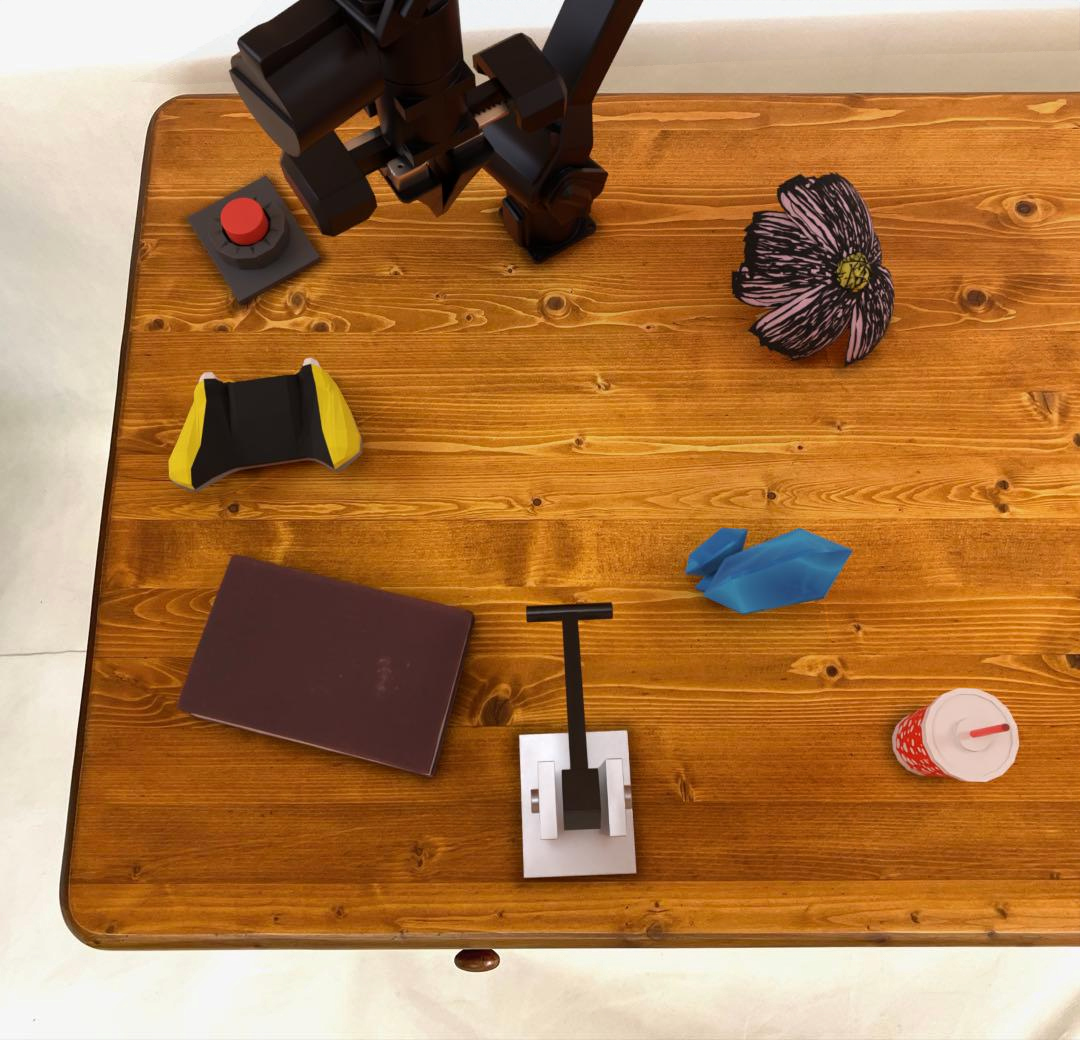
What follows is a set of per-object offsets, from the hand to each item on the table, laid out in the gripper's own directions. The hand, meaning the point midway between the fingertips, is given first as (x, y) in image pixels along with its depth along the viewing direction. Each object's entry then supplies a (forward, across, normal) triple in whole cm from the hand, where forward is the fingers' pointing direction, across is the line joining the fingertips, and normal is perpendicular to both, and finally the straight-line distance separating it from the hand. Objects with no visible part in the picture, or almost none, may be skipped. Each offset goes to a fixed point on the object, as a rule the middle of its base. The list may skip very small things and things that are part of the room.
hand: (437, 210), depth 72 cm
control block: (+13, +11, -15) cm, 23 cm away
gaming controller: (+14, +19, +3) cm, 23 cm away
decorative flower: (+12, -25, +17) cm, 33 cm away
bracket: (+14, +14, +40) cm, 45 cm away
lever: (+3, +11, +36) cm, 38 cm away
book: (+14, +24, +22) cm, 35 cm away
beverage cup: (+13, -10, +51) cm, 54 cm away
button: (+11, +11, -15) cm, 22 cm away
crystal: (+13, -7, +34) cm, 37 cm away
